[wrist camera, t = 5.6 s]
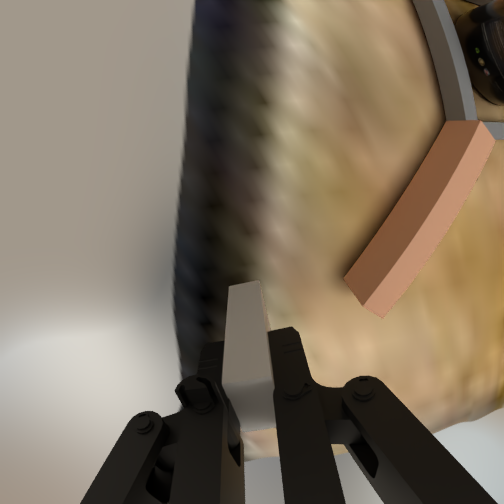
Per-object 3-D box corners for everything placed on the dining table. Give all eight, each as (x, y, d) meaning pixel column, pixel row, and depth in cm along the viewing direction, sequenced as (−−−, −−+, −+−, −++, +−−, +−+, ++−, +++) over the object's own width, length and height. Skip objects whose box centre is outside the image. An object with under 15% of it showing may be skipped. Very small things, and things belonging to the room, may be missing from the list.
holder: (273, -35, 9) (280, -65, 7) (498, 4, 9) (522, -4, 6) (344, 295, 16) (363, 324, 13) (532, 234, 15) (557, 247, 12)
